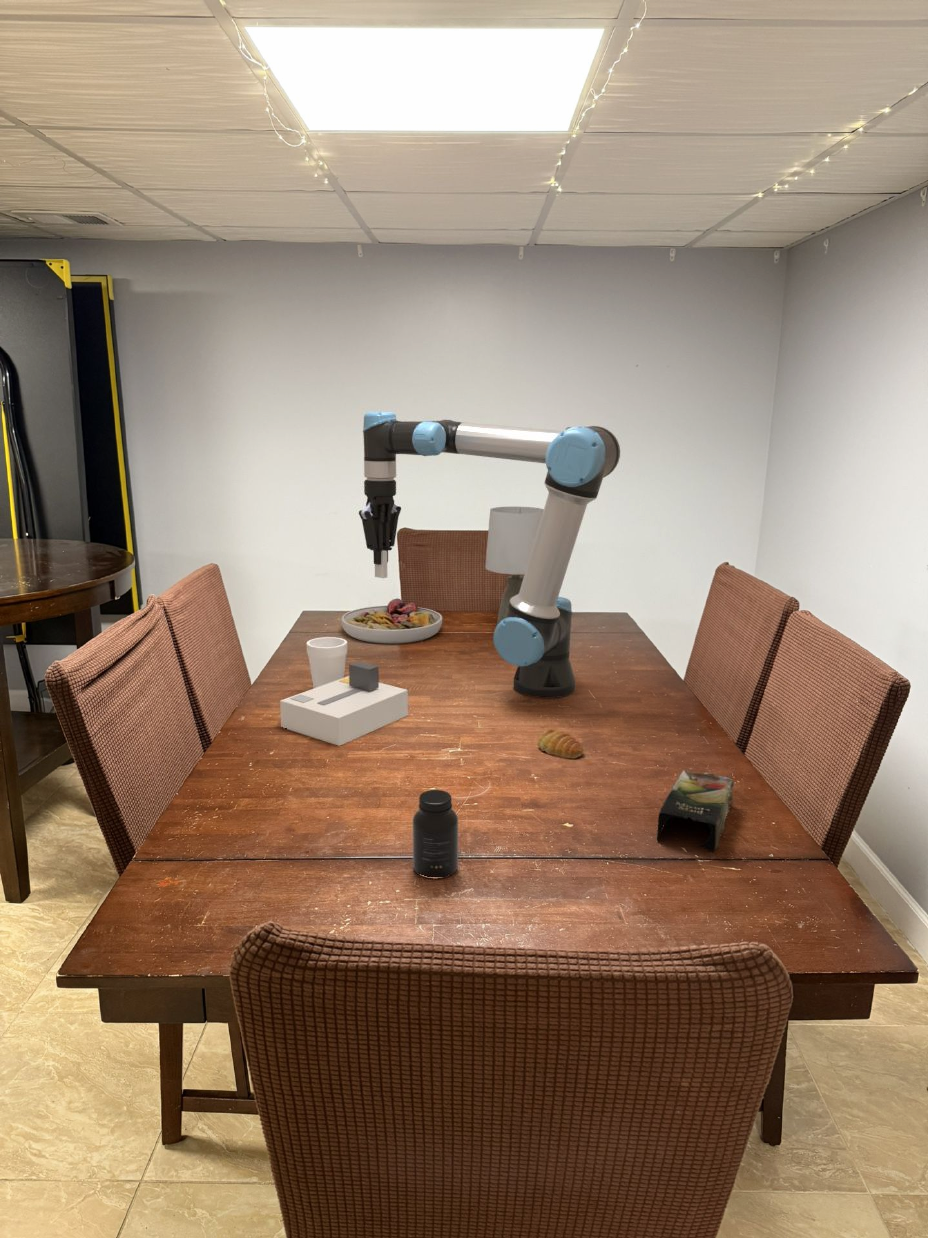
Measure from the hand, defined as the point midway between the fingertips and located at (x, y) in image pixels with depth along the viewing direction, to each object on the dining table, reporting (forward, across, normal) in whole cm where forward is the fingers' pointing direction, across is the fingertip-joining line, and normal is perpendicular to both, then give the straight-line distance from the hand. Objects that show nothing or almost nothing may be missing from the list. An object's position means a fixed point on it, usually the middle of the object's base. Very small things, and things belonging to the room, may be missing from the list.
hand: (381, 577), depth 212 cm
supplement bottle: (+27, +63, +65) cm, 94 cm away
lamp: (+27, -60, +1) cm, 66 cm away
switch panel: (+26, +26, +12) cm, 39 cm away
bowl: (+27, -37, -28) cm, 53 cm away
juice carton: (+27, +25, +91) cm, 98 cm away
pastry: (+27, +11, +57) cm, 64 cm away
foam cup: (+27, +16, -3) cm, 31 cm away
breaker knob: (+20, +20, +12) cm, 31 cm away
